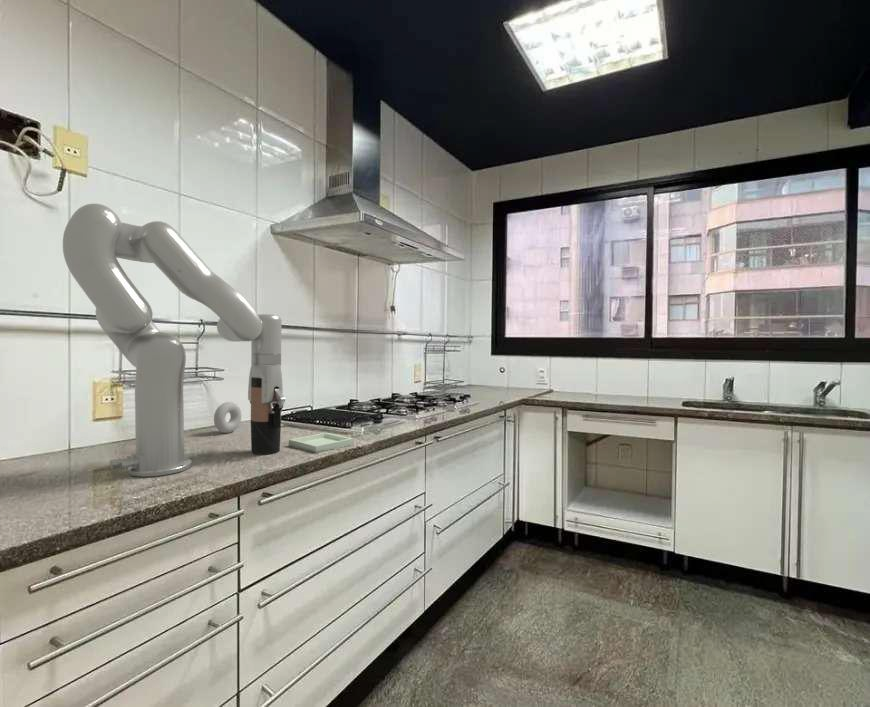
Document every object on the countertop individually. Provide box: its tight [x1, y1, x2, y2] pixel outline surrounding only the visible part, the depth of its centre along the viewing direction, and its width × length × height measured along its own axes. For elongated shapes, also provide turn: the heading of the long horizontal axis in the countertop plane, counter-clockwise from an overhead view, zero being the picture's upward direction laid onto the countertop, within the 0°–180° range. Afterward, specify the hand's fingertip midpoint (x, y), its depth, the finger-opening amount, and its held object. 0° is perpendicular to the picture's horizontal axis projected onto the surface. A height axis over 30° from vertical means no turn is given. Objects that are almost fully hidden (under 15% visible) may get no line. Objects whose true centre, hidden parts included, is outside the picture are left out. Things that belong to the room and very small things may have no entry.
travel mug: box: [250, 378, 282, 456], centre depth 121 cm, size 8×8×20 cm
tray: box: [288, 432, 355, 454], centre depth 130 cm, size 13×13×2 cm
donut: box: [213, 401, 242, 434], centre depth 146 cm, size 10×4×10 cm, turn 158°
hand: (265, 425), depth 121 cm, fingers closed on travel mug, 7 cm apart
